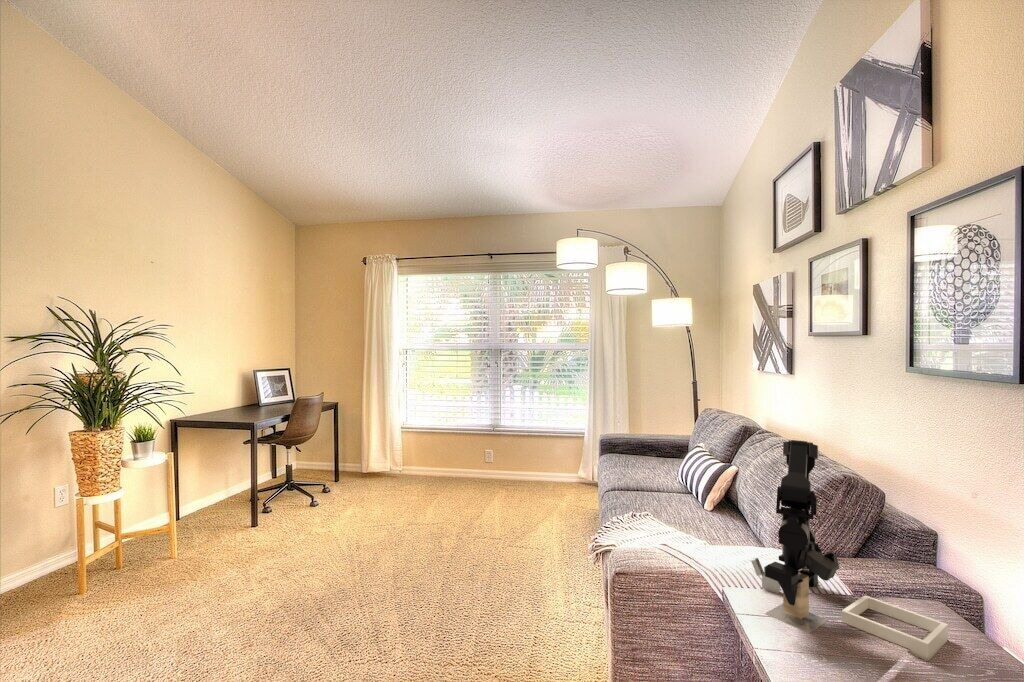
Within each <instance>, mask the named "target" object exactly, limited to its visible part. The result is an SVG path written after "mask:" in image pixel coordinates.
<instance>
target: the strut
mask: <svg viewBox="0 0 1024 682" xmlns="http://www.w3.org/2000/svg"><path fill="white" fill-rule="evenodd" d="M799 579H801V580H804V581H803V582H801V583H800V584H798V585H797V592H796V599H795V604H794V605H790V604H789V603H788V601H787V599H786V597H785V594H784V592H783V591H782V592H783V593H782V594H783V595H782V597H783V598H782V599H783V600H782V601H783V602H782V604H783V612H785V613H788V614H790V615H792V616H795V617H797V618H799V619H802V618H804V617H805V616H807V615H809V612H810V598H809V597H810V593H809V592H810V587H809V576H807V575H804V574H802V573H800V574H799Z"/></svg>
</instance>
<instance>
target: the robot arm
mask: <svg viewBox="0 0 1024 682" xmlns="http://www.w3.org/2000/svg"><path fill="white" fill-rule="evenodd" d="M782 443H783V444H782V445H783V446H782V455H783V456H784V457H786V458H785V459H786V462H785V463H786V464H787V467H788V468H787V474H786V475H785V476H783V477H781V480H780V486H779V485H778V486H777V493H776V505H775V506H776V507H775V509H776V510H775V514H778V515H781V516H782V517H781V522H780V526H779V530H778V544H780V545H782V546H781V549H782V550H781V552H782V554H780V555H778V561H780V562H777V561H773V562H771V563H768V564H767V565H765V566H764V567H763V571H764V575H765V577H768V578H771V579H773V580H776V581H778V583H779V584H780V589H781V590H782V592H784V594H785V597H786V599H787V601H788V603H789V604H790V605H794V604H795V599H796V592H797V585H798V584H800V583H801V582H803V581H804V580H801V579H799V574H800V573H802V574H804V575H807V576H809V588H814V587H816V586H818V585H819V579H821V580H823V581H825V582H827V581H829V580H830V579H832V578H834V576H835V575H836V572H837V571H838V570H840V566H839V565H840V563H839V560H838V555H837V553H834V552H832V551H829V552H827V553H825V554H824V553H823V552H822V551H823V550H822V549H821V547H820V546H819V545H820V544H819V543H816V542H817V541H816V540H817V539H816V538H817V537H816V536H817V535H816V534H815V532H814V531H813V529H812V528H811V526H810V520H814V518H815V517H814V516H817V515H818V513H817V512H818V510H817V508H818V496H817V495H816V493H815V491H814V490H811V489H812V487H811V486H812V485H811V484H812V483H811V481H810V473H811V472H812V471H813V470H814V468H815V466H816V460H817V461H818V460H819V447H818V445H817V444H814V442H812V441H809V442H808V441H807V440H797V439H791V440H790V439H789V440H788V441H783V442H782ZM781 562H783V563H784V564H783V563H781Z"/></svg>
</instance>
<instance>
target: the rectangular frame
mask: <svg viewBox="0 0 1024 682" xmlns="http://www.w3.org/2000/svg"><path fill="white" fill-rule="evenodd" d="M868 609H870V610H872V611H875V612H878V613H879V614H883V615H886V616H888V617H891V618H894V619H896V620H899V621H902V622H905V623H906V624H910V625H913V626H915V627H918V628H921V629H923V630H925V631H928V632H927V633H925V635H923V637H921V638H918V637H916V636H914V635H911V634H909V633H906V632H903V631H900V630H898V629H895V628H893V627H889V626H888V625H884V624H882V623H879V622H877V621H875V620H871V619H869V618H866V617H863V616H861V614H862V613H864V612H865V611H866V610H868ZM840 615H841V618H840V619H841V620H840V621H841V622H842V623H844V624H847V625H849V626H852V627H854V628H856V629H858V630H861V631H864V632H866V633H869V634H870V635H871V634H872V635H874V636H876V637H878V638H881V639H884V640H886V641H889V642H891V643H894V644H896V645H898V646H901V647H904V648H906V649H908V651H907V652H906V653H907V654H909V655H912V656H914V657H917V658H918V659H922V660H924V661H926V660H927V662H929V661H930V660H931V658H933V657H934V656H935V654H936V653H937V652H939V650H940V649H942V647H943V646H944V645H945V644H946V643H947V642H948V641H949V624H948V623H945V622H943V621H939V620H937V619H935V618H933V617H932V618H931V617H929V616H925V615H922V614H921V613H920V614H919V613H918V612H915V611H911V610H908V609H905V608H903V607H901V606H897V605H895V604H891V603H889V602H885V601H883V600H880V599H876V598H874V597H871V596H868V595H863V596H862V597H860V598H858V599H857V600H855V601H854V602H852V603H851V604H849V605H847V606H846V607H845V608H844V609H842V610H841V613H840ZM947 640H948V641H947Z"/></svg>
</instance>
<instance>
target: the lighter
mask: <svg viewBox="0 0 1024 682" xmlns="http://www.w3.org/2000/svg"><path fill="white" fill-rule="evenodd" d="M750 562H751V564H752V568H753V570H754V571H755V574H756V576H757V577H758V576H759V577H760V576H761V588H762V589H764V590H766V591H767V590H768V591H769V592H772V593H774V594H780V593H781V586H780V584H779V583H778V581H776V580H773V579H771V578H768V577H765V575H764V568H763V566H762V564H761V562H760V559H759V557H755V558H752V559H751V560H750Z"/></svg>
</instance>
